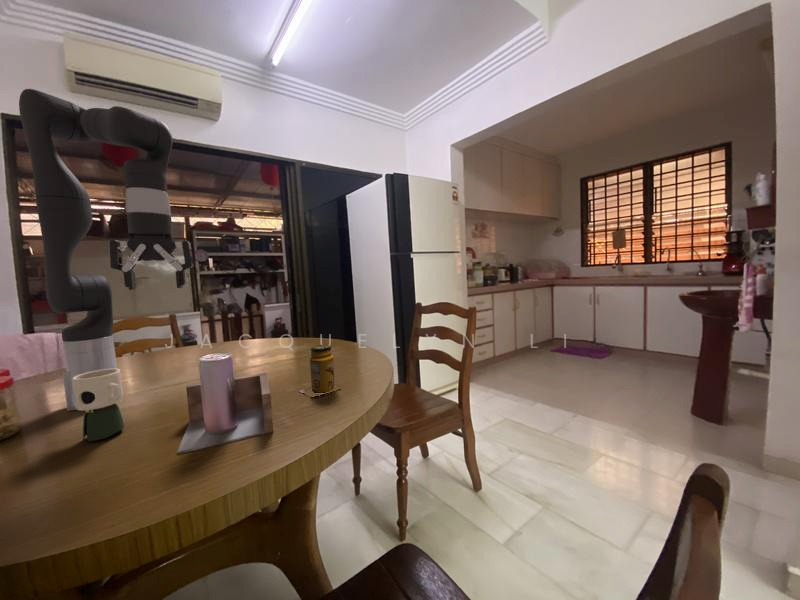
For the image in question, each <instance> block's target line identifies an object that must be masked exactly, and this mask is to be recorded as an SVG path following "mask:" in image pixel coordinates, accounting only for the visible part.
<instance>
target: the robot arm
mask: <svg viewBox="0 0 800 600" xmlns="http://www.w3.org/2000/svg"><path fill="white" fill-rule="evenodd" d="M18 109H19V117H20V122H21V125H22V130H23V133H24V137H25V141H26V144H27V149H28V153H29V157H30V162H31V170H32V177H33V187H34V197H35V202H36V203H35V204H36V209H37V215H38V216H37V217H38V221H39V227H40V232H41V238H42V245H43V246H42V247H43V255H44V256H43V257H44V259H43V260H44V282H45V284H44V285H45V287H44V288H45V297H46V300H47V303H48V305H49V307H50V309H51V310H52V311H53V312H54V313H56V314H71V313H81V312H87V313H86V316H85V317H84V318H83V319H82V320H80V321H79V322H77V323H74V324H72V325H70V326H67V327H65V328H64V329H62V331H61V340H62V345H63V355H64V360H65V369H66V371H64V372H63V373H62V379H63V387H64V393H65V395H64V396H65V404H66V410H67V411H68V412H69V411H78V410H77V408H76V407H75V401H76V396H75V394H74V391H73V385H72V378H73V377H75V376H77V375H80V374H83V373H87V372H91V371H97V370H103V369H118V365H117V359H116V357H117V356H116V350H115V348H116V347H115V342H114V333H113V327H114V312H113V294H112V293H113V292H112V288H111V284H110V281H109V280H108V279H107V278H106V277H105V276H104V275H102V274H71V263H72V262H71V260H72V256H73V254H74V252H75V250H76V249H77V247H78V245H79V244H80V243H81V242H82V240H83V239H84V238H85V236H86V235H87V234H88V232H89V231H90V229H91V227H92V225H93V212H92V205H91V198H90V195H89V193H88V192H87V190H86V188H85V186H84V185H82V182H80V180H79V179H78V178H77V177H76V176H75V175H74V173H73V172H72V171H71V170H70V169H69V168H68V166H67V165H66V164H65V163H64V161H63V160H62V158H61V157H60V155H59V154H58V151H57V149H56V147H55V145H54V144H55V143H54V141H53V138H54V139H58V140H62V141H66V142H69V143H76V144H79V143H81V144H83V143H89V142H100V143H104V144H108V145H113V146H118V147H119V146H120V147H129V148H133V149H137V150H141V151H143V152H146V158H145V159H138V158H136V159H135V158H134V159H133V158H131V159H127V160H125V162H124V163H123V176H124V178H123V179H124V185H125V187H124V188H125V197H124V198H125V206H124V208H125V211H126V212H125V213H126V221H127V230H128V239H127V241H126V240H116V239H111V240H109V252H110V253H109V256H110V260H109V261H110V263H109V264H110V268H111V269H113V270H118V271H121V272H122V273H123V280H124V286H125V288H128V290H129V291H132V290H133V291H134V290H137V281H136V272H135V271H134V269H135V268H136V267H138V265H139V264H140V263H141V262H142V261H144V262H152V261H156V262H157V261H158V262H159V261H160V262H164V261H166V262H168V263H169V264H170V265H171V266H172V267H173V268H174V269H175V270H176V271H175V282H176V288H177V289H182V288H183V286H185V285H186V283H187V282H186V270H188V269H193V268H194V267H195V264H194V257H193V251H192V244H191V242H190V241H188V240H182V241H175V239H174V235H173V234H174V233H173V223H172V221H173V220H172V213H171V212H172V211H171V202H170V198H169V194H168V185H167V171H168V165H169V162H170V161H169V159H170V155H171V153H172V150H173V149H172V147H173V144H174V143H173V141H174V140H173V135H172V133H171V130H170V129H169V127H168V126H167V124H166V123H164V122H163V121H162V120H160V119H156V118H155V117H151V116H149V115H146V114H143V113H141V112H138V111H136V110H133V109H131V108H130V109H129V108H128V107H123V106H120V105H119V106H117V105H115V106H112V107H110V108H103V107H91V108H88V109H85V108H83V107H81V106H79V105H78V104H76V103H73V102H71V101H68V100H65V99H63V98H60V97H57V96H55V95H51V94H49V93H46V92H44V91H39V90H38V89H33V88H25V89H23V90H22V91H21V93H20V95H19V99H18ZM126 248H129V249H130V251H132V254H131V255H130V256H129V257H128V259H127V261H126V262H125V264H123V252H124V251H126ZM176 248H178V249H179V251H181V252H183V258H184V263H183V264H182V263H181V262H180V261H179V259H178V258H177V257H176V256H175V255H174V254H173V252H174V251H175V249H176Z"/></svg>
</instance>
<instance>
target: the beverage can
mask: <svg viewBox="0 0 800 600" xmlns="http://www.w3.org/2000/svg"><path fill="white" fill-rule="evenodd" d="M198 361H199V362H198V372H199V373H198V374H199V382H200V385H201V395H202V405H203V415H204V425H205V431H206V432H207V433H208V434H211V435H217V434H223V433H226V432H229V431H231V430H232V429H234V428H235V427H236V426H237V424H238V413H237V402H236V391H235V379H234V378H235V372H234V371H235V369H234V360H233V357H232V354H231V353H228V352H223V353H222V352H220V353H212V354H207V355H204V356H202V357H200V358H199V359H198Z"/></svg>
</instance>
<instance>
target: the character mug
mask: <svg viewBox="0 0 800 600" xmlns="http://www.w3.org/2000/svg"><path fill="white" fill-rule="evenodd" d="M121 375H122V374H121V369H120V368H117V369H103V370H97V371H91V372H87V373H83V374H80V375H77V376H75V377H73V378H72V385H73V391H74V394H75V396H76V401H75V407H76V408H77V410H76V411H85V412H84V413H83V420H82V421H83V424H82V441H85V437H86V436H87V437H86V439H87V441H88V442H94V441H95V442H96V441H99V440H103V439H107V438H110V437H111V436H113V435H114V434H116V433H118V432H120V431H122V430H124V429H125V424H124V421H123V417H122V413H121V410H120V408H119V406H118V405H117V403H118V402H121V401H122V400H123V398H124V391H123V383H122V376H121Z"/></svg>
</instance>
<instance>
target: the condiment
mask: <svg viewBox="0 0 800 600" xmlns="http://www.w3.org/2000/svg"><path fill="white" fill-rule="evenodd" d="M309 365H310V381H311V383H310V384H311V386H310V387H309V388H306V389H302V390H299V392H300V393H301V394H303V393H304V392H306V391H307V390H308V389H311V388H312V391H313V392H314V393H326V392H329V391H331V390H333V389H334V386H335V385H336V384H335V383H336V382H335V370H334V369H335V368H334V366H335V365H334V356H333V354H332V347H331V345H329V344H317V345H313V346H311V348H310V359H309ZM335 387H336V386H335ZM319 397H321V396H320V395H319Z"/></svg>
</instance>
